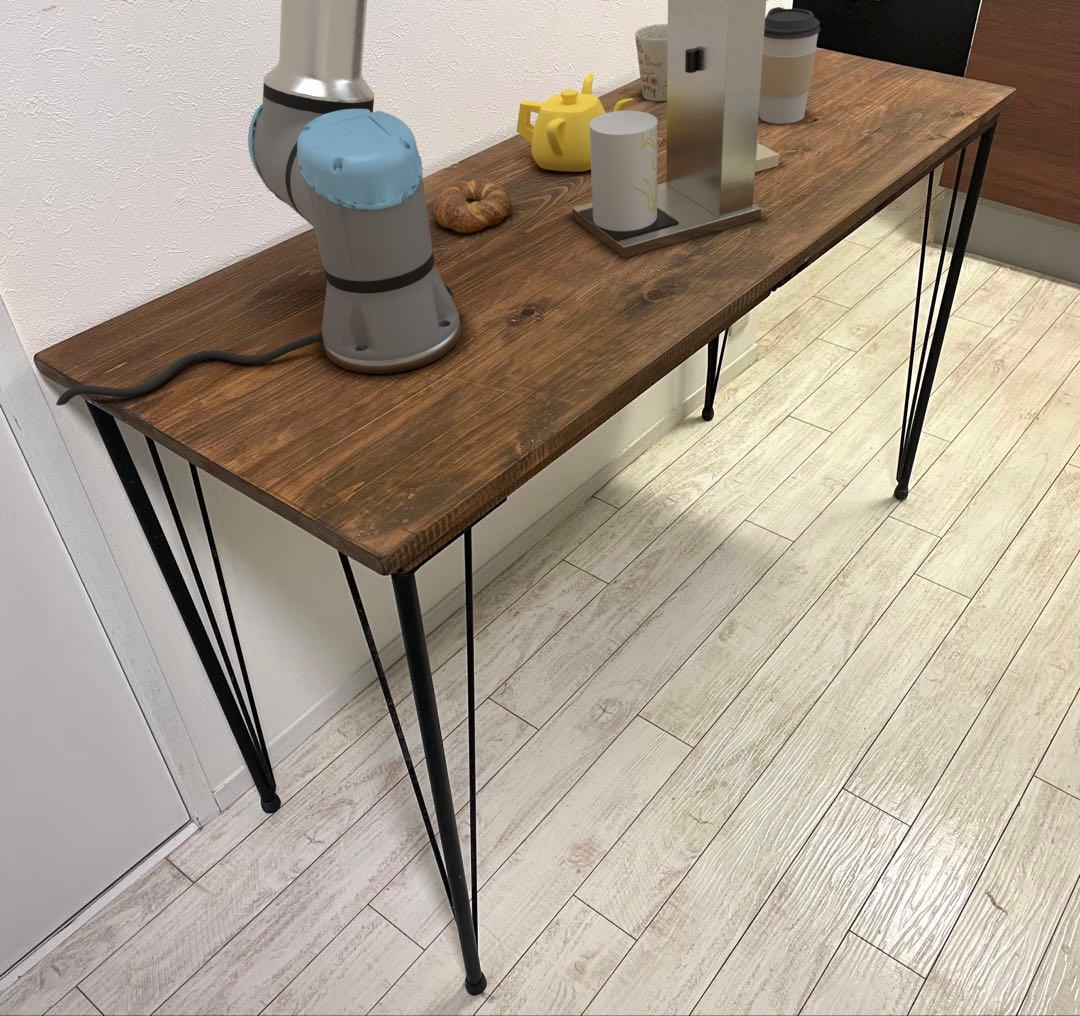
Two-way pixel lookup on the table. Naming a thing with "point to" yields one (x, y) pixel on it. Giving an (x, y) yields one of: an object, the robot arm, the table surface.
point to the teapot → (563, 127)
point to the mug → (653, 60)
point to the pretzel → (471, 205)
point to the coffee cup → (787, 64)
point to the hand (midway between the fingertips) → (739, 61)
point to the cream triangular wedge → (765, 158)
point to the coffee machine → (704, 126)
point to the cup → (624, 170)
